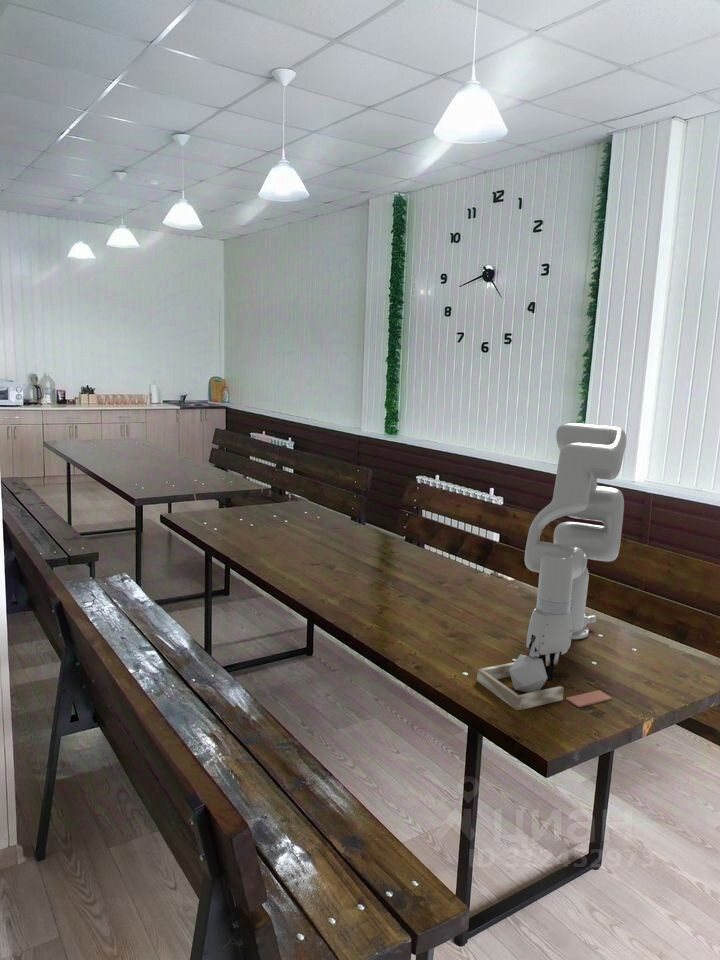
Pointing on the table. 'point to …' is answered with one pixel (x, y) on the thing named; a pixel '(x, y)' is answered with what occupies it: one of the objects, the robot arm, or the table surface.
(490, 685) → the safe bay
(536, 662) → the die
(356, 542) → the table surface
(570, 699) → the mat
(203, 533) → the table surface
